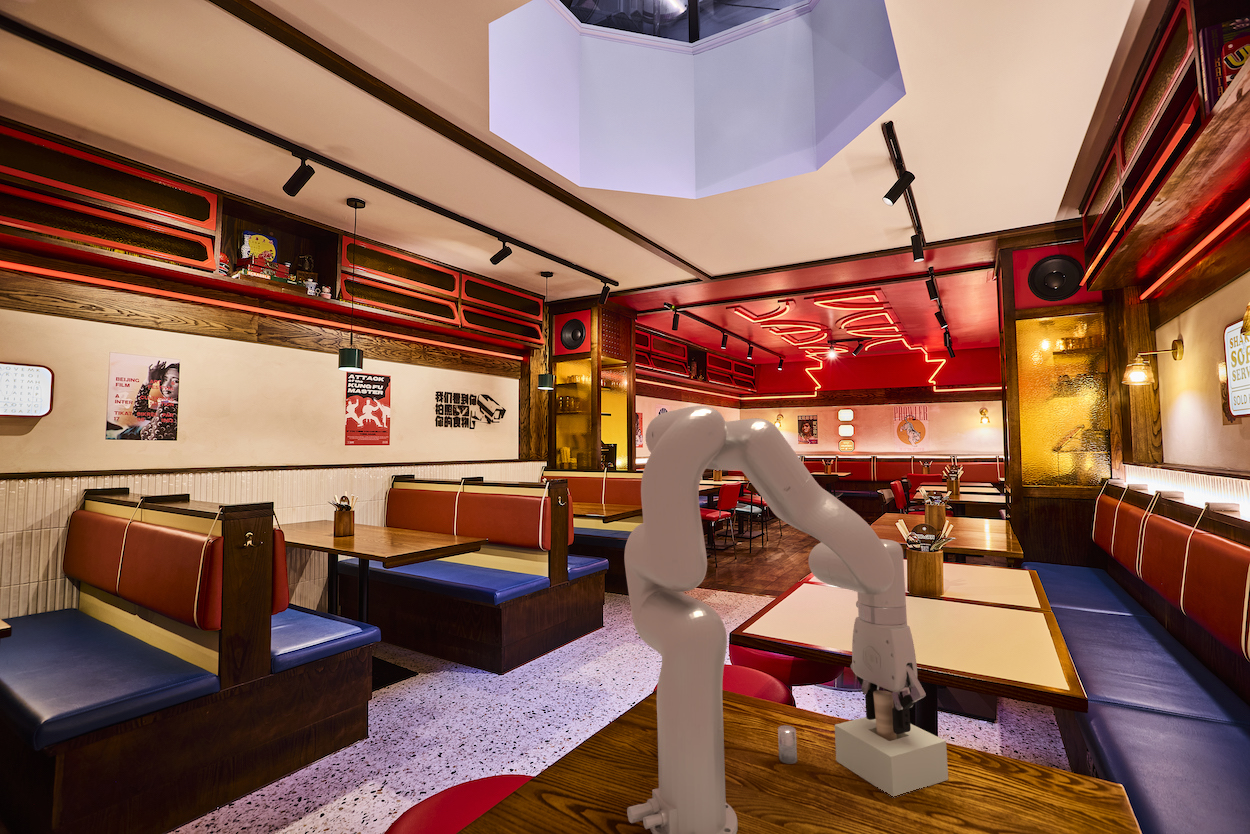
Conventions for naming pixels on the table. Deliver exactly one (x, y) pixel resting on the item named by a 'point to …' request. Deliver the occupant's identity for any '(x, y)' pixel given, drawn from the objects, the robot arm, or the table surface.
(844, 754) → the hole block
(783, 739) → the steel stub
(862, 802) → the table surface
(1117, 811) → the table surface
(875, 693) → the birch pin
